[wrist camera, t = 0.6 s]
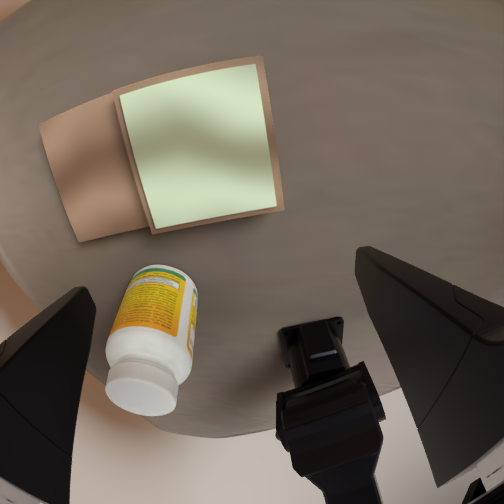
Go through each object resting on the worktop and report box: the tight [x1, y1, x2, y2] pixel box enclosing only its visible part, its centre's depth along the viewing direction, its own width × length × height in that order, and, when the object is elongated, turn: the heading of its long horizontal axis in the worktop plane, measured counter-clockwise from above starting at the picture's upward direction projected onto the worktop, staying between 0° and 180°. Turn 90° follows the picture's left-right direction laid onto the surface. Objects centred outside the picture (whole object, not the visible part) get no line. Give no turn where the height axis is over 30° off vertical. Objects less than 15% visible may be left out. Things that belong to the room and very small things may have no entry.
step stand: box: [39, 56, 284, 243], centre depth 18 cm, size 10×16×3 cm, turn 99°
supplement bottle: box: [105, 265, 198, 416], centre depth 21 cm, size 6×6×11 cm
